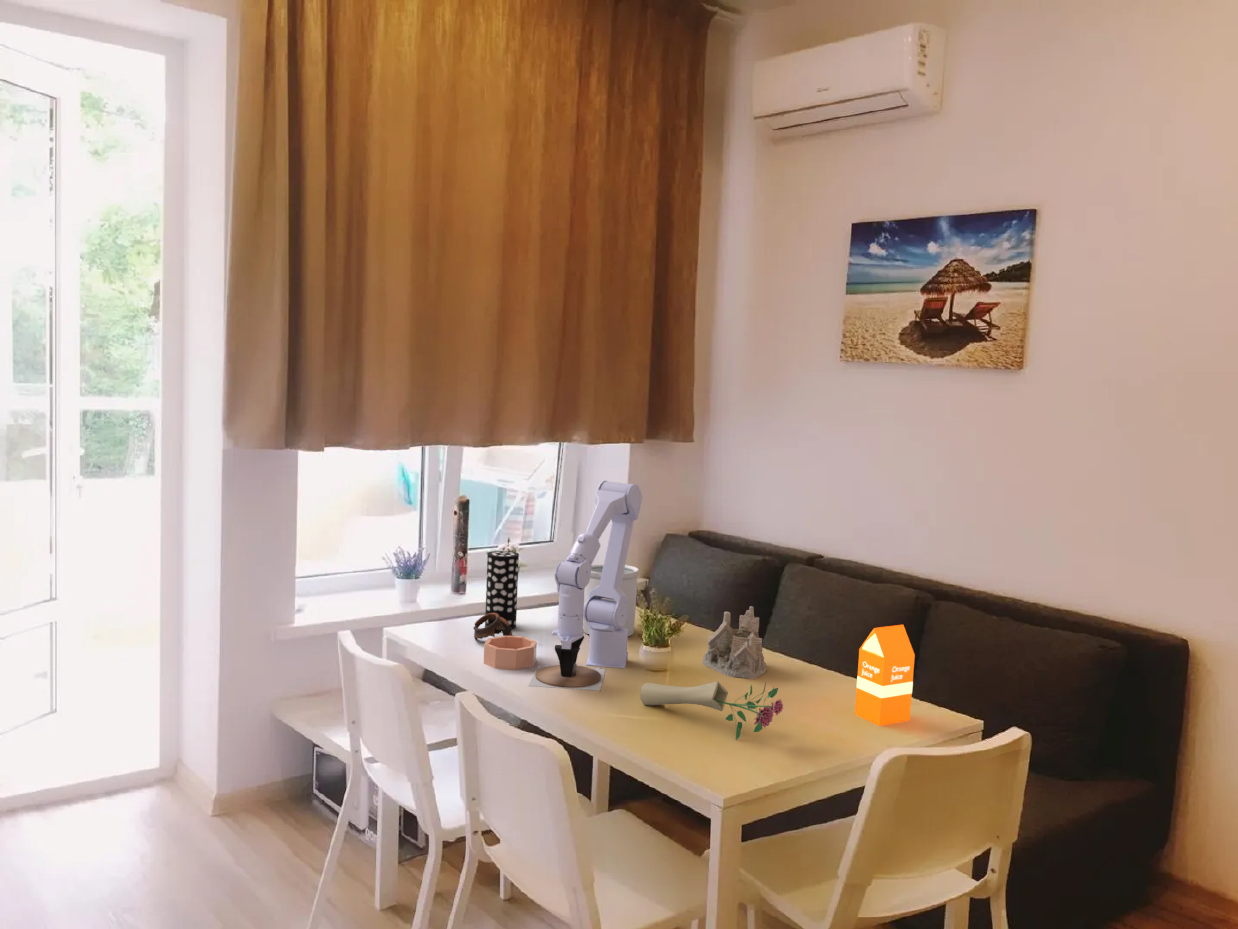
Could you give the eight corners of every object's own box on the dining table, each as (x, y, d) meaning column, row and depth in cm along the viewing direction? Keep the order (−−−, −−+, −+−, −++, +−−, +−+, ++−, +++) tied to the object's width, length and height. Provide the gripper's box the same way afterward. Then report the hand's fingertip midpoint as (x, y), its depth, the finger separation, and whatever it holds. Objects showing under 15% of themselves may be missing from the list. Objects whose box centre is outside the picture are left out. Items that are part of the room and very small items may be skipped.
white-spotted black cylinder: (504, 621, 288) (507, 549, 286) (522, 628, 281) (524, 555, 279) (479, 625, 282) (481, 552, 280) (495, 632, 276) (498, 558, 274)
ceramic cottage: (708, 653, 265) (713, 597, 263) (772, 665, 260) (777, 607, 257) (691, 674, 251) (696, 614, 248) (758, 687, 245) (764, 626, 243)
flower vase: (662, 737, 227) (803, 745, 204) (626, 733, 218) (769, 741, 196) (665, 682, 230) (804, 684, 208) (630, 676, 221) (771, 677, 199)
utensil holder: (577, 624, 288) (579, 562, 286) (629, 624, 291) (633, 562, 289) (584, 639, 274) (587, 573, 272) (640, 639, 276) (643, 574, 274)
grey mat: (605, 670, 247) (605, 669, 247) (599, 692, 231) (600, 690, 231) (538, 666, 248) (538, 664, 248) (528, 687, 232) (528, 685, 232)
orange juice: (910, 720, 223) (917, 629, 221) (879, 726, 218) (886, 632, 216) (884, 709, 229) (890, 620, 227) (853, 714, 225) (860, 623, 223)
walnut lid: (603, 669, 247) (603, 657, 246) (598, 689, 232) (598, 676, 232) (540, 665, 248) (540, 653, 247) (531, 685, 233) (531, 672, 232)
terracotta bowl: (537, 657, 255) (538, 637, 255) (530, 672, 243) (531, 651, 243) (490, 654, 256) (490, 634, 255) (480, 668, 244) (481, 648, 244)
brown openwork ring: (516, 648, 264) (502, 622, 261) (482, 662, 265) (468, 637, 262) (516, 624, 276) (502, 599, 272) (483, 638, 276) (469, 613, 273)
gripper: (557, 605, 246) (554, 661, 247) (549, 620, 231) (546, 680, 233) (587, 606, 245) (584, 663, 247) (581, 622, 231) (578, 682, 232)
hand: (568, 671), depth 240 cm, fingers open, 7 cm apart
